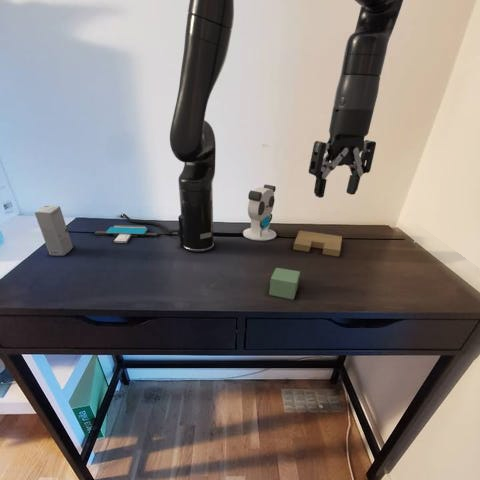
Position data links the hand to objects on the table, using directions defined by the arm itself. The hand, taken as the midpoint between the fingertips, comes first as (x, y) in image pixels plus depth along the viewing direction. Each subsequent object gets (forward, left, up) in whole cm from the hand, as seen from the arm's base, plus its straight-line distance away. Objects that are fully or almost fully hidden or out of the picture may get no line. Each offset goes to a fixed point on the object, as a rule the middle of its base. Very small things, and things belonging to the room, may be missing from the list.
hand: (334, 195), depth 69 cm
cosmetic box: (-72, -9, -22) cm, 76 cm away
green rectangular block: (-7, -7, -22) cm, 24 cm away
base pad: (-2, +24, -22) cm, 32 cm away
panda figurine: (-22, +26, -22) cm, 40 cm away
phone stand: (-62, +8, -22) cm, 66 cm away
